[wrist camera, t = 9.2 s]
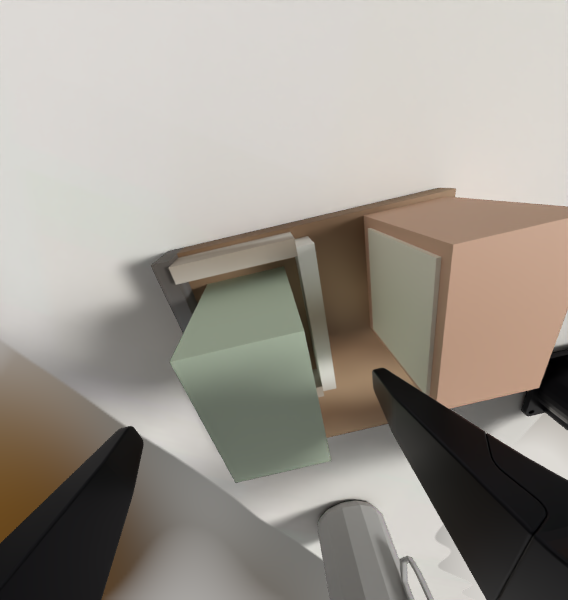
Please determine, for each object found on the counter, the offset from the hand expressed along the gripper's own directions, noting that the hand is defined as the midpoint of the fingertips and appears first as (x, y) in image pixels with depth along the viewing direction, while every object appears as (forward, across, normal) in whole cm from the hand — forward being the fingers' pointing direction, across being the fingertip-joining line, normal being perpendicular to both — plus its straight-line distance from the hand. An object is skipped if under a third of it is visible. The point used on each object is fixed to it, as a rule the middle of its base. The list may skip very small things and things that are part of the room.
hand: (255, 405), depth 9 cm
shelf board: (+7, -4, +3) cm, 8 cm away
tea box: (+5, 0, 0) cm, 5 cm away
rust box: (+5, -8, -1) cm, 10 cm away
